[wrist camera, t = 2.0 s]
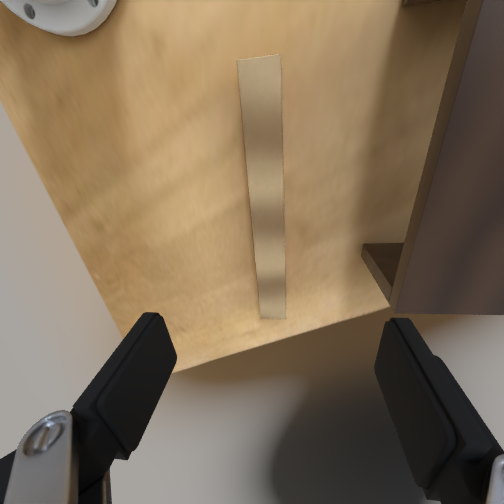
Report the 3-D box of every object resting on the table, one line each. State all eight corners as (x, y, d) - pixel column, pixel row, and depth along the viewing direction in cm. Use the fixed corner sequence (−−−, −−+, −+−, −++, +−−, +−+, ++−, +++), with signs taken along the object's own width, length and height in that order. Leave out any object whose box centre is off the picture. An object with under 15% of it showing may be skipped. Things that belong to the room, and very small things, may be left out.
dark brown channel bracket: (360, 256, 26) (394, 313, 18) (406, -26, 15) (532, -178, 8) (438, 255, 25) (510, 315, 17) (545, -51, 14) (859, -258, 7)
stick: (285, 297, 30) (286, 319, 27) (263, 296, 31) (260, 319, 27) (281, 66, 19) (280, 52, 15) (244, 71, 19) (236, 59, 16)
